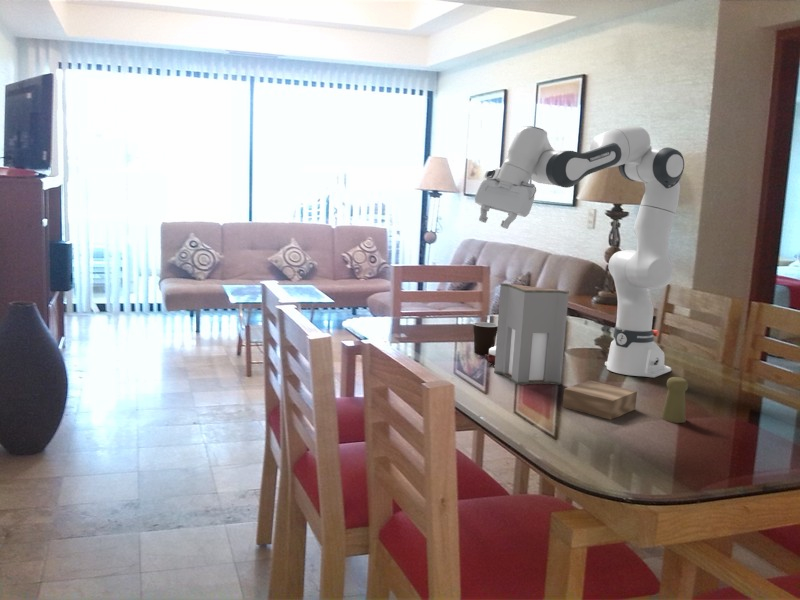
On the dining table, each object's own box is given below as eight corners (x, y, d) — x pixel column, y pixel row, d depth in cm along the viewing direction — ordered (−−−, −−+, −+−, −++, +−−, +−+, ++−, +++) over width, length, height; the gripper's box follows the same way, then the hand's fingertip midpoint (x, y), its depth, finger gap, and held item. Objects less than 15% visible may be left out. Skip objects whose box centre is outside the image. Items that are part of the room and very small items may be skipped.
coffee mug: (488, 357, 258) (490, 328, 256) (466, 352, 263) (468, 324, 261) (505, 351, 267) (507, 323, 265) (483, 347, 272) (485, 320, 270)
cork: (656, 418, 198) (661, 377, 196) (667, 414, 202) (672, 373, 200) (679, 424, 194) (683, 382, 192) (689, 420, 198) (694, 378, 196)
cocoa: (486, 367, 244) (488, 331, 242) (482, 362, 250) (483, 326, 248) (515, 367, 245) (517, 330, 243) (510, 361, 251) (512, 326, 249)
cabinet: (560, 383, 228) (568, 291, 223) (549, 390, 219) (557, 294, 215) (496, 371, 238) (502, 283, 234) (483, 377, 230) (490, 285, 225)
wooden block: (588, 397, 214) (589, 380, 213) (635, 409, 205) (637, 391, 204) (562, 406, 204) (564, 388, 203) (610, 419, 194) (612, 400, 194)
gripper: (545, 189, 209) (524, 235, 210) (496, 179, 226) (477, 222, 226) (531, 180, 206) (510, 227, 206) (482, 170, 222) (463, 214, 222)
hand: (492, 224), depth 216 cm, fingers open, 8 cm apart
